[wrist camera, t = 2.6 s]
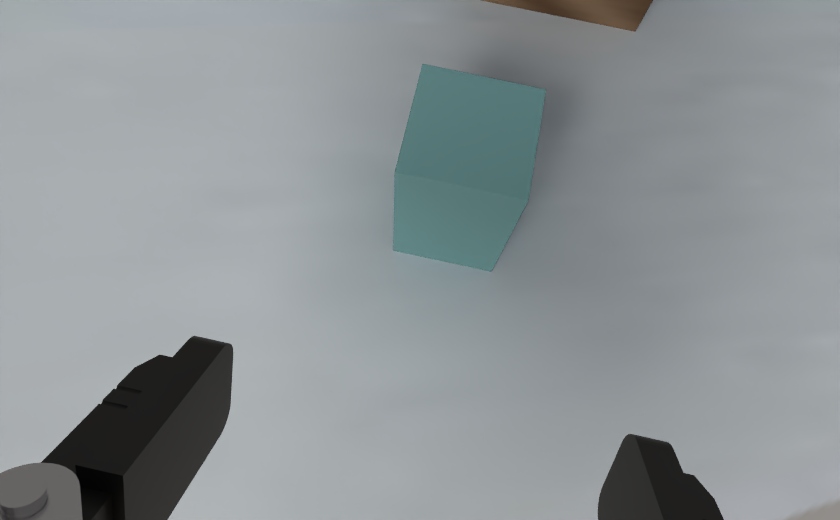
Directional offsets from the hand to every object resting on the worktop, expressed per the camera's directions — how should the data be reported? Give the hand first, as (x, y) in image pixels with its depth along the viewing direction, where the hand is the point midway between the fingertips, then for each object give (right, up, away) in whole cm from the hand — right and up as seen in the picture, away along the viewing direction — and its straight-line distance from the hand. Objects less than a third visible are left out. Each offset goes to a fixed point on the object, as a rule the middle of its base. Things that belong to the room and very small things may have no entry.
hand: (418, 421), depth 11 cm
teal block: (+2, +6, +18) cm, 19 cm away
